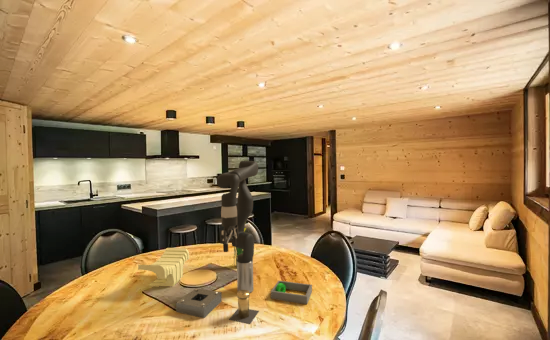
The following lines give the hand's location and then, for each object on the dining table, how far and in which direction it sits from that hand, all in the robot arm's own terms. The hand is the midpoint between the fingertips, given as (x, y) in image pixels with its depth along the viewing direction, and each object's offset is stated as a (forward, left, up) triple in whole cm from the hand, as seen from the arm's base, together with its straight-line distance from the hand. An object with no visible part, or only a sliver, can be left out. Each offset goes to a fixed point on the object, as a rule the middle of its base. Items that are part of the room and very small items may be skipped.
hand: (230, 248), depth 125 cm
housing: (-2, -19, -33) cm, 38 cm away
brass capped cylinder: (-2, +6, -32) cm, 33 cm away
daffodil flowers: (-56, -23, -33) cm, 69 cm away
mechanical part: (-26, +13, -35) cm, 46 cm away
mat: (-2, +6, -33) cm, 33 cm away
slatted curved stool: (-19, -56, -33) cm, 67 cm away
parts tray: (-28, +23, -33) cm, 49 cm away
